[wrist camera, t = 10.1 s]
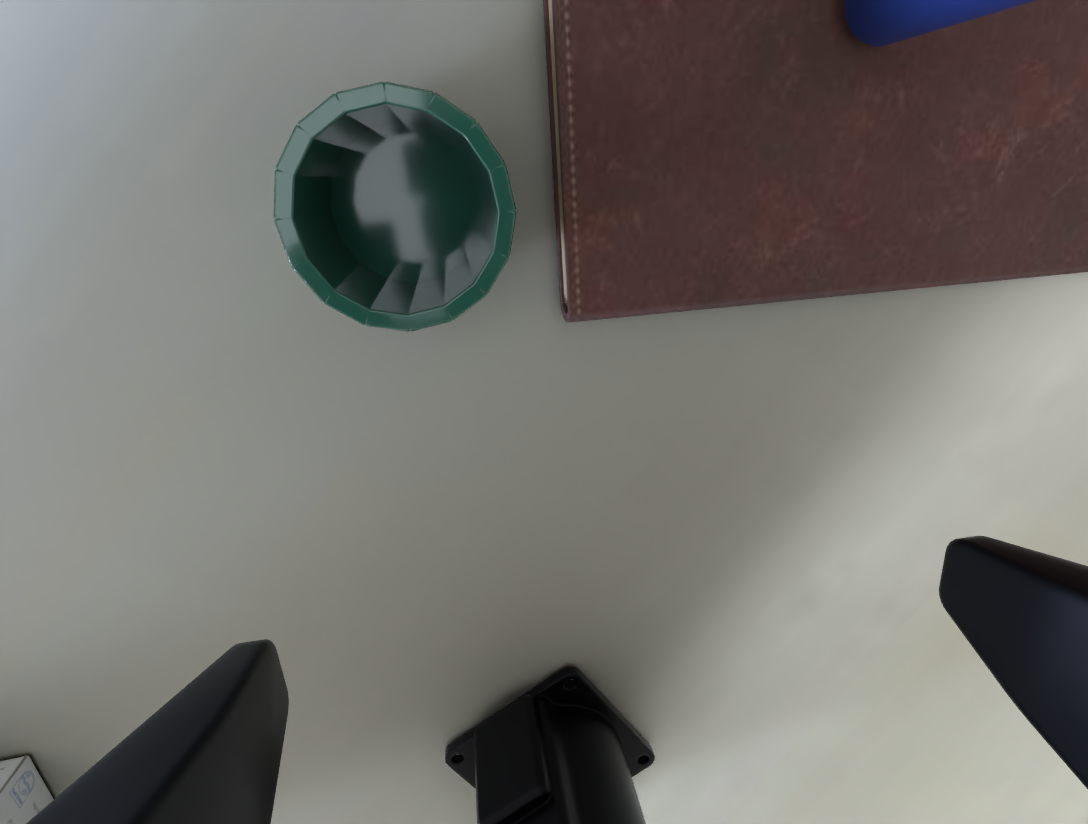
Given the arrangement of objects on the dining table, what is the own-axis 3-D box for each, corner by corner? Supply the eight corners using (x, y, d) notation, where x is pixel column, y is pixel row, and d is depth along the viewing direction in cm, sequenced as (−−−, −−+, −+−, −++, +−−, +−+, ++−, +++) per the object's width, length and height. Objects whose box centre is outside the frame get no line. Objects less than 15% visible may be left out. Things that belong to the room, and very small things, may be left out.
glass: (531, 225, 19) (558, 242, 14) (399, 325, 19) (383, 372, 14) (423, 68, 17) (414, 27, 12) (281, 182, 17) (219, 185, 13)
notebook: (1117, 262, 22) (1179, 270, 20) (560, 315, 20) (572, 330, 18) (1270, -320, 16) (1375, -384, 15) (524, -332, 14) (535, -408, 12)
